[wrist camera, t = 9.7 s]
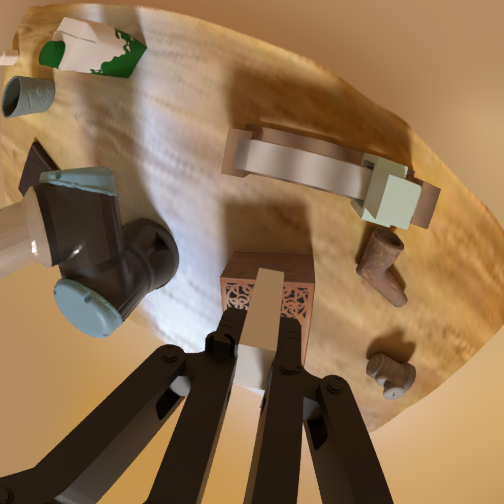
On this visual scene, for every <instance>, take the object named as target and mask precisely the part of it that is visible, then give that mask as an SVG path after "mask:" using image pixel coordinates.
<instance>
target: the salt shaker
mask: <svg viewBox="0 0 504 504" xmlns="http://www.w3.org/2000/svg"><path fill="white" fill-rule="evenodd" d="M18 57H19V53H18V50H4V51H3V52H2V53H0V65H14V63H15V62H16V60H17V59H18Z"/></svg>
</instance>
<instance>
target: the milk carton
mask: <svg viewBox="0 0 504 504" xmlns="http://www.w3.org/2000/svg"><path fill="white" fill-rule="evenodd" d="M146 49H147V47H145V46H144V45H143V44H141V43H140V42H138V41H137V40H136V39H134V38H133V37H131V36H130V35H128V34H126V33H124V32H122V31H120V30H117V29H115V28H112V27H110V26H107V25H104V24H102V23H98V22H94V21H90V20H85V19H77V18H69V17H64V18H63V20H62V22H61V24H60V25H59V27H58V29H57V31H55V33H54V34H53V36H52V39H51V41H49V42H47V43H46V44H45V45H44V47H43V48H42V50H41V53H40V56H39V63H40V64H41V65H46V66H50V67H53V68H57V69H60V70H64V71H76V72H84V73H91V74H97V75H104V76H113V77H122V78H129V76H130V74H131V73H132V71H133V69H134V68H135V66H136V64H137V63H138V61H139V59H140V58H141V56H142V55H143V53H144V52H145V50H146Z"/></svg>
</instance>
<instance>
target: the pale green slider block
mask: <svg viewBox="0 0 504 504" xmlns="http://www.w3.org/2000/svg"><path fill="white" fill-rule="evenodd" d="M361 166H363V167H366V168H367V166H370V167H373V168H374V170H373V173H372V177H371V181H370V184H369V188H368V191H367V195H366V198H365V202H364V201H363V200H361V199H358V198H354V197H352V200H351V205H352V206H353V208H354V209H355V211H356V212H357V213H358V215H359V216H360V218H361V219H363V220H366V221H369V222H373V223H376V224H379V225H383V226H386V227H389V228H390V225H393V226H396V227H399V228H402V229H405V230H407V229H408V227H409V224H410V221H411V218H412V215H413V212H414V209H415V206H416V203H417V200H418V197H419V193H420V190H421V186H419V185H417V184H415V183H413V182H411V181H409V180H407V179H405V177H406V174H407V170H408V167H407V166H404V165H401V164H399V163H396V162H393V161H391V160H388V159H385V158H382V157H380V156H376V155H372V154H368V153H365V152H364V155H363V159H362V163H361Z"/></svg>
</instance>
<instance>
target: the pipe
mask: <svg viewBox="0 0 504 504" xmlns="http://www.w3.org/2000/svg"><path fill="white" fill-rule="evenodd" d="M403 249H404V244H403V242H402V241H401V240H400V239H399V237H398V236H397V235H396V234H394V233H393V232H391V231H390V230H388V229H385V228H381V227H375V229H374V231H373V232H372V234H371V236H370V239H369V241H368V243H367V246H366V248H365V251H364V253H363V256H362V259H361V261H360V263H359V265H358V266H357V268H356V272H357V274H359V275H360V276H362V277H363V278H364V279H365V280H367V281H368V282H369V283H370V285H371V286H372V287H373V288H374V289H376V290H377V291H378V292H379V293H380V294H381V295H382V296H383V297H384V298H386V299H387V300H388V301H389V302H390V303H392V304H393V305H394V306H395V307H401V306H403V305H405V304H406V303H407V301H408V300H407V297H406V295H405V293H404V292H403V290H402V289H401V287H400V285H399V284H398V282H397V281H396V280H395V278H394V277H393V276H392V274H391V273H390V272H389V270H388V269H387V268H388V267H390V266H391V265H392V264H393V262H394V261H395V260H396V259H397V257H398V256H399V254H400V252H401V251H403Z"/></svg>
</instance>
